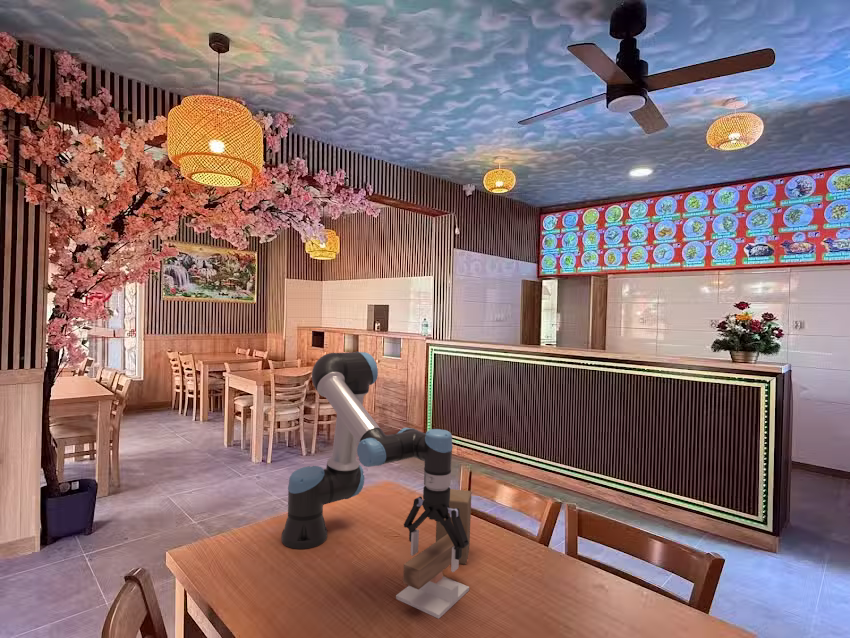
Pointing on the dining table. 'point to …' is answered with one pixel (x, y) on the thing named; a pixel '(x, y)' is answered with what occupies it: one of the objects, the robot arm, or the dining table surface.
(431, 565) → the beam
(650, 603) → the dining table surface
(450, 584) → the stand
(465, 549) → the wooden block
